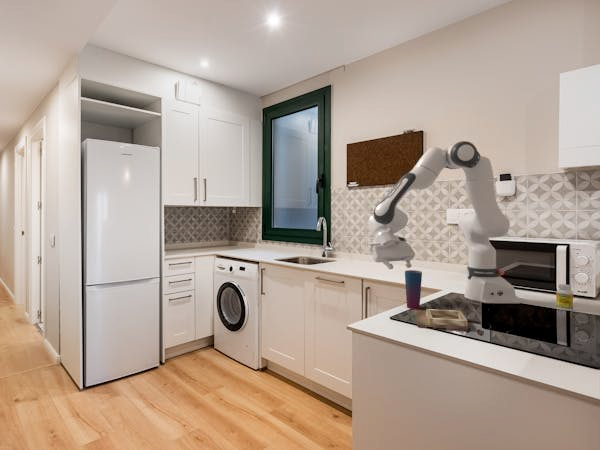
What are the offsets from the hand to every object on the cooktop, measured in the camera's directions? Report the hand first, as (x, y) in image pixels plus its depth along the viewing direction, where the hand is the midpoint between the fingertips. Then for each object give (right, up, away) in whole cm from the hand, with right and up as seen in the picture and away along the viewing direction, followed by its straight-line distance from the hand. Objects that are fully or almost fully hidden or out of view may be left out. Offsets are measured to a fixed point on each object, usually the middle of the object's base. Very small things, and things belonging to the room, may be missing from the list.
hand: (400, 267), depth 153 cm
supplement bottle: (+63, -15, -11) cm, 66 cm away
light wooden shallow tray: (+7, -16, -25) cm, 30 cm away
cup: (+3, -16, -7) cm, 18 cm away
